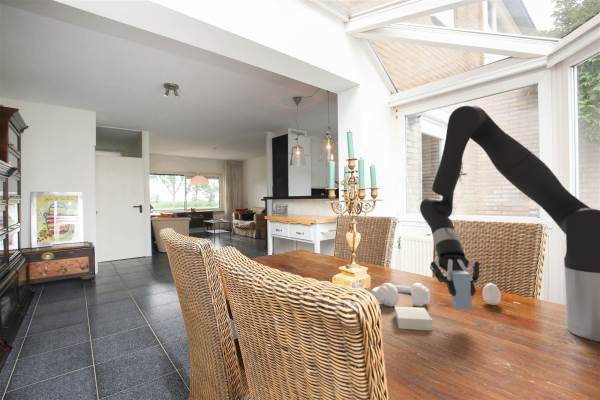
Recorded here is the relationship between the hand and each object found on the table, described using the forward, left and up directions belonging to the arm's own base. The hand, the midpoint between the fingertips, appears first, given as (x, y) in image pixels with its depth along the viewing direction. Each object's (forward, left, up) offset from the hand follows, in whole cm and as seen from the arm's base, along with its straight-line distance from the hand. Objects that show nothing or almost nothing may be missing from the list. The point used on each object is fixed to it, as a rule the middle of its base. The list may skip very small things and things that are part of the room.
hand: (463, 294), depth 78 cm
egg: (-21, -16, -10) cm, 28 cm away
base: (+12, -7, -10) cm, 17 cm away
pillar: (-1, -2, -4) cm, 5 cm away
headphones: (+7, -27, -10) cm, 29 cm away
